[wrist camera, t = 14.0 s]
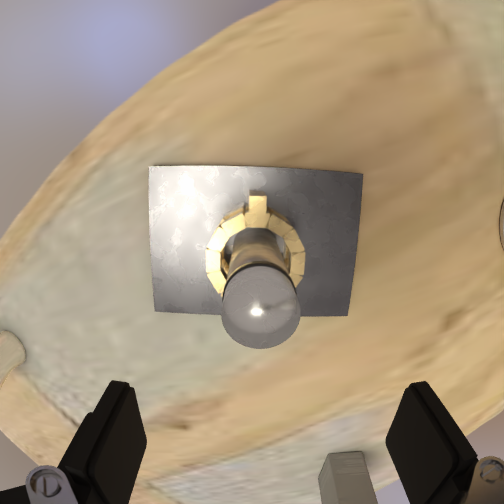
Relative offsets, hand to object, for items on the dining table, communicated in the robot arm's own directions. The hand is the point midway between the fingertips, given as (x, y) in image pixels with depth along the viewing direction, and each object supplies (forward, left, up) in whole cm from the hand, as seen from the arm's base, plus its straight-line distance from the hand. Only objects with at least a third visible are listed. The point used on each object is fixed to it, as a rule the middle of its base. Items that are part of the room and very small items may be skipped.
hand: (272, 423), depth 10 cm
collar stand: (0, 0, -26) cm, 26 cm away
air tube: (0, 0, -24) cm, 24 cm away
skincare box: (-16, +39, -26) cm, 50 cm away
